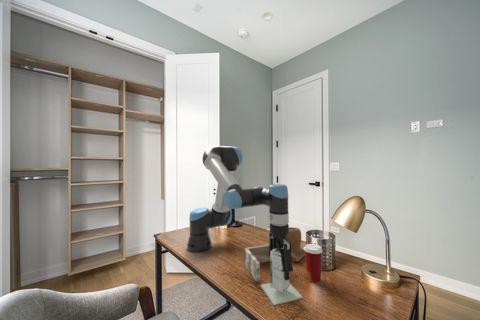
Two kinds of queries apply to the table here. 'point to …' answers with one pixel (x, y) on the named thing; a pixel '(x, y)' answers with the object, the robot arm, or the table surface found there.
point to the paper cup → (313, 262)
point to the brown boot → (295, 243)
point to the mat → (281, 294)
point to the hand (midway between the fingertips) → (280, 281)
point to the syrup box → (276, 270)
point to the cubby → (256, 259)
